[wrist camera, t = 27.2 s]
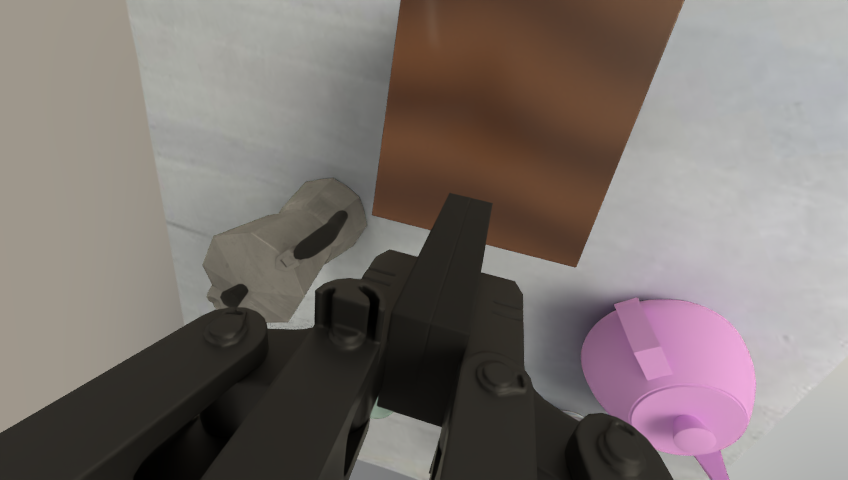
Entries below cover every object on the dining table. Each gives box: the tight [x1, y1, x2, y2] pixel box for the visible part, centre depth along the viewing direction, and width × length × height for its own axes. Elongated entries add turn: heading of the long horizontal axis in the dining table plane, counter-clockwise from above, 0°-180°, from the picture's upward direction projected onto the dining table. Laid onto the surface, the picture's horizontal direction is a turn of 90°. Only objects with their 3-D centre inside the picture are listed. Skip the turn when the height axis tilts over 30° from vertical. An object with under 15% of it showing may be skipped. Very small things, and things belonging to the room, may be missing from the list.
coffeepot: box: [203, 178, 367, 323], centre depth 36 cm, size 15×9×18 cm, turn 124°
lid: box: [372, 0, 685, 267], centre depth 22 cm, size 15×14×1 cm
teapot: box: [581, 297, 756, 480], centre depth 37 cm, size 22×16×12 cm
